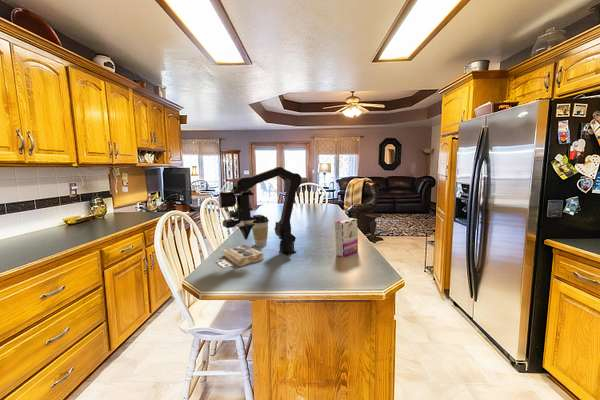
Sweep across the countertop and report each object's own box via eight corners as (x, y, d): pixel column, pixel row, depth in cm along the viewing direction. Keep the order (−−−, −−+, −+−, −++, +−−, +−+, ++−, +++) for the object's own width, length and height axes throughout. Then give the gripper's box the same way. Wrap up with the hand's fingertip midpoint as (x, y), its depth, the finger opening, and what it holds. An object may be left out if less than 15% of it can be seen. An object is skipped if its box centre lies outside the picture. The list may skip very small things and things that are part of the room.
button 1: (239, 251, 135) (238, 246, 135) (241, 252, 133) (241, 247, 132) (233, 252, 133) (233, 247, 133) (236, 254, 131) (235, 249, 131)
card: (224, 259, 127) (224, 258, 127) (233, 265, 119) (233, 264, 119) (215, 262, 124) (214, 260, 124) (223, 268, 116) (223, 267, 116)
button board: (245, 250, 139) (245, 244, 139) (263, 259, 125) (263, 253, 125) (223, 255, 132) (222, 250, 132) (239, 266, 118) (238, 259, 118)
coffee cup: (255, 242, 154) (253, 216, 152) (271, 242, 153) (270, 216, 151) (249, 247, 145) (247, 219, 143) (267, 247, 143) (266, 219, 141)
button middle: (244, 252, 131) (243, 247, 130) (246, 253, 128) (246, 248, 128) (238, 253, 129) (237, 248, 128) (241, 255, 126) (240, 249, 126)
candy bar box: (350, 249, 135) (349, 217, 133) (358, 252, 132) (358, 218, 129) (335, 255, 128) (334, 221, 126) (343, 257, 124) (342, 222, 122)
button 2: (249, 254, 126) (249, 249, 126) (252, 256, 124) (252, 251, 124) (243, 256, 124) (243, 251, 124) (246, 258, 122) (246, 252, 122)
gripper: (254, 201, 134) (256, 232, 136) (217, 206, 123) (219, 239, 125) (265, 203, 125) (267, 236, 127) (226, 209, 114) (228, 245, 116)
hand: (245, 239), depth 124 cm, fingers closed
